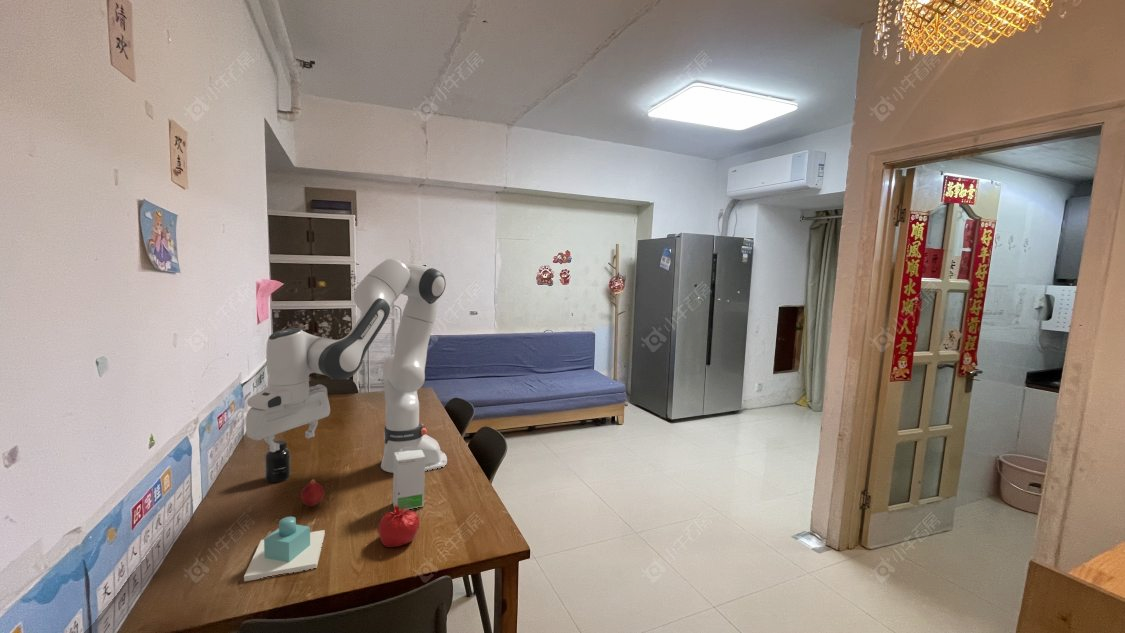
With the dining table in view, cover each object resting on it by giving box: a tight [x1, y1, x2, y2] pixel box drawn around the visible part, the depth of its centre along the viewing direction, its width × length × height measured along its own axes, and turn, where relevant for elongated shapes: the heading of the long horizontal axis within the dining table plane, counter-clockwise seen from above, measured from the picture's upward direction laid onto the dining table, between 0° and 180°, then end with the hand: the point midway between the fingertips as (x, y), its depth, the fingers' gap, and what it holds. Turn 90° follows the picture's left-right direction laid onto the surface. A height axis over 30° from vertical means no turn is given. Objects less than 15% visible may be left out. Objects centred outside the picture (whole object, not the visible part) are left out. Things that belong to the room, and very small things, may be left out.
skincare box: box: [392, 450, 426, 510], centre depth 130 cm, size 8×7×16 cm
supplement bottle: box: [264, 439, 291, 484], centre depth 143 cm, size 7×7×12 cm
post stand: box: [243, 529, 326, 582], centre depth 106 cm, size 14×14×5 cm
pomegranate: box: [377, 505, 420, 548], centre depth 114 cm, size 10×10×9 cm
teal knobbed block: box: [263, 516, 311, 562], centre depth 106 cm, size 7×7×8 cm
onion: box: [300, 479, 325, 507], centre depth 128 cm, size 6×6×8 cm
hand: (293, 444), depth 115 cm, fingers open, 8 cm apart
